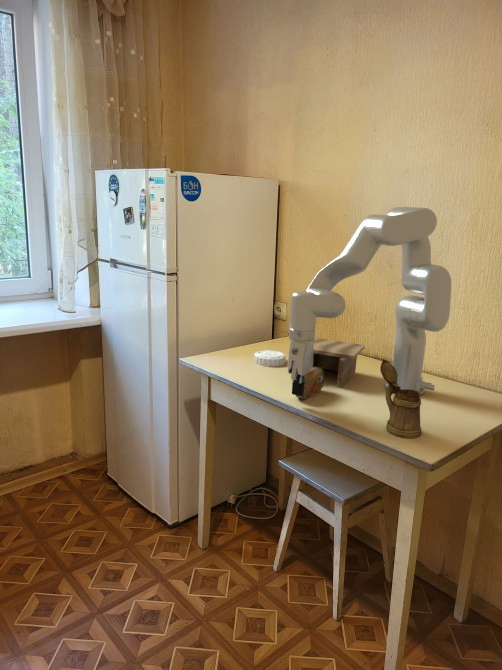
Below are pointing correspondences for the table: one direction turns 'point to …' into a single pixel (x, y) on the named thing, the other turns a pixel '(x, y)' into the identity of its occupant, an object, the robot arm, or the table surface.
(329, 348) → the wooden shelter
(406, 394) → the wooden mug
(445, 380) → the table surface
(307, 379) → the tin
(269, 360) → the mooncake
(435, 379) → the table surface
